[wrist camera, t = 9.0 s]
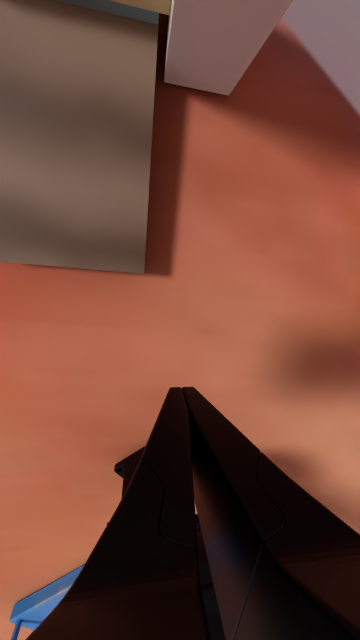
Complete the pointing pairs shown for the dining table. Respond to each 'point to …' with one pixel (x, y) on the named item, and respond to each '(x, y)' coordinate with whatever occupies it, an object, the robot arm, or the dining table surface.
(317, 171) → the dining table surface
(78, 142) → the plank
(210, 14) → the white box
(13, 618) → the file sorter
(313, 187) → the dining table surface
